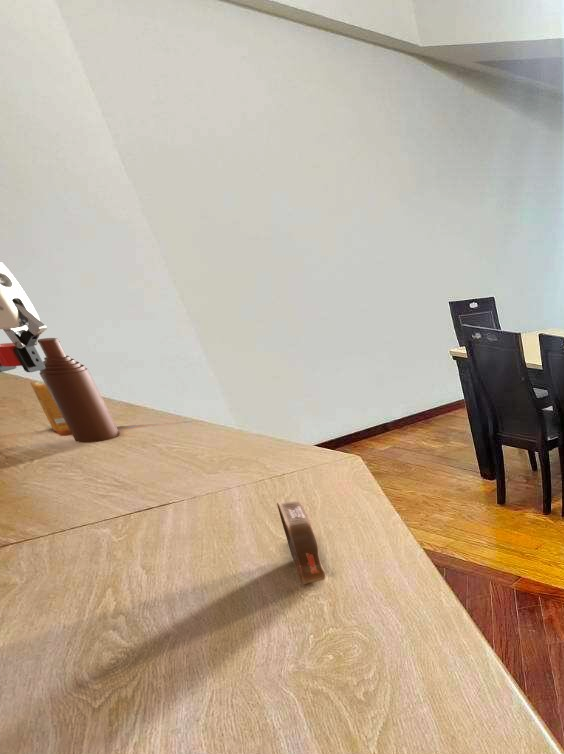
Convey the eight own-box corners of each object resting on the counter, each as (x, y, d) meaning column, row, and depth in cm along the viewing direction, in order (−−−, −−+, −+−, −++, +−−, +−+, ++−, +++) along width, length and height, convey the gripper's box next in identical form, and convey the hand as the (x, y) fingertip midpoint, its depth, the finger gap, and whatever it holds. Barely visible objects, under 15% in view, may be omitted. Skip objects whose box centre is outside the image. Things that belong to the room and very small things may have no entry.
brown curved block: (289, 549, 83) (268, 494, 79) (315, 542, 85) (296, 489, 81) (306, 596, 73) (283, 537, 69) (335, 588, 75) (314, 530, 71)
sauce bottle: (69, 443, 114) (14, 343, 104) (83, 433, 118) (31, 336, 109) (113, 440, 116) (63, 341, 107) (124, 430, 121) (78, 335, 112)
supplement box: (84, 432, 119) (57, 382, 114) (60, 436, 117) (32, 385, 112) (77, 429, 121) (51, 379, 116) (54, 433, 118) (26, 383, 113)
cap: (36, 364, 102) (26, 345, 100) (2, 367, 99) (-9, 348, 98) (33, 360, 104) (22, 341, 102) (0, 364, 101) (-12, 344, 100)
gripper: (36, 253, 97) (93, 366, 106) (-80, 249, 95) (-12, 365, 104) (-8, 255, 91) (56, 375, 100) (-134, 252, 89) (-57, 375, 98)
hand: (20, 369), depth 102 cm, fingers closed on cap, 3 cm apart
